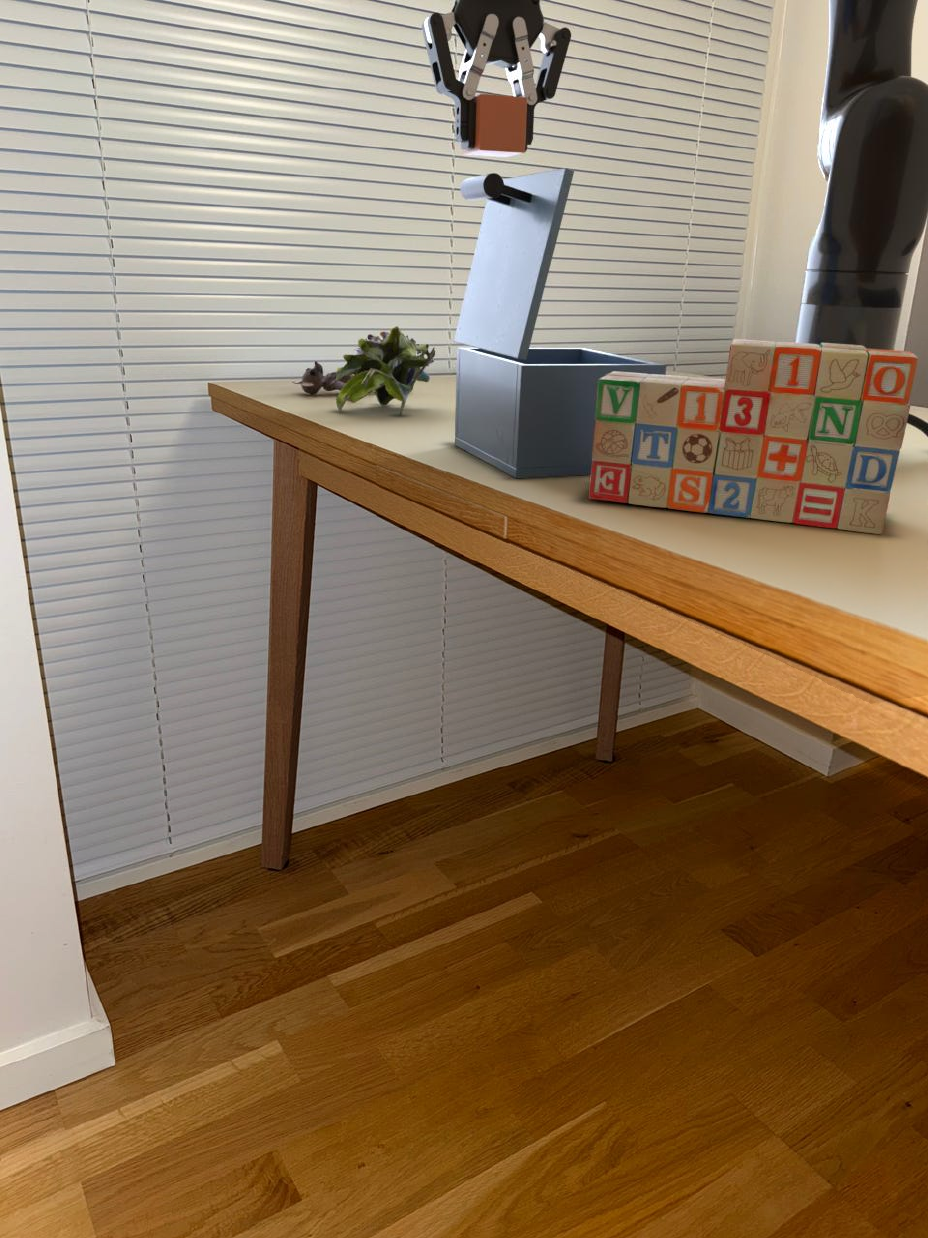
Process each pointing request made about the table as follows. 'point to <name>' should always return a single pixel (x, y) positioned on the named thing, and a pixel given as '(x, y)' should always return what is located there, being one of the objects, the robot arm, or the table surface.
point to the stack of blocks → (760, 435)
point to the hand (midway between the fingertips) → (494, 149)
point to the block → (499, 125)
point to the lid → (511, 258)
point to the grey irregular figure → (321, 380)
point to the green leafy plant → (384, 368)
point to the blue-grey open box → (534, 407)
